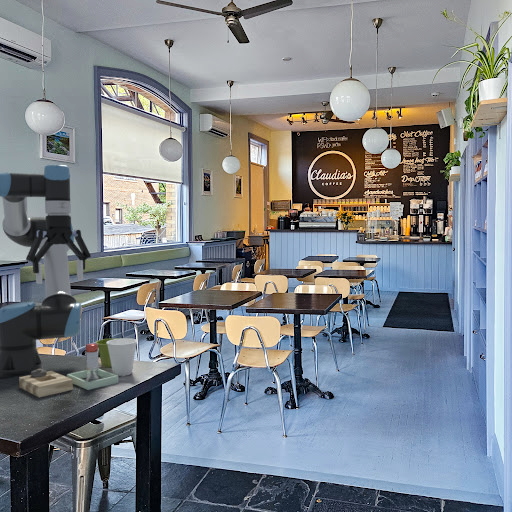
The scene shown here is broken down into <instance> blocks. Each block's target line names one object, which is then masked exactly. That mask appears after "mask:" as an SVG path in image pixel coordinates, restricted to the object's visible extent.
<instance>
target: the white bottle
mask: <svg viewBox="0 0 512 512" xmlns="http://www.w3.org/2000/svg"><path fill="white" fill-rule="evenodd" d="M85 365H86V366H85V369H86V381H87V382H91V381H95V380H99V379H100V376H99V371H98V369H99V349H98V344H96V342H94V343H87V344H85Z"/></svg>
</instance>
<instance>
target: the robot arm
mask: <svg viewBox="0 0 512 512" xmlns="http://www.w3.org/2000/svg"><path fill="white" fill-rule="evenodd" d="M43 172H44V173H20V172H19V173H16V172H14V173H13V172H1V173H0V197H1V198H2V207H3V215H4V218H3V220H2V230H3V232H4V234H5V236H7V237H8V239H9V240H10V241H12V242H14V243H15V244H17V245H20V246H23V247H25V248H29V251H28V253H27V255H26V258H25V261H28V262H31V263H32V272H33V274H35V284H38V285H43V270H44V288H45V289H44V290H45V298H44V299H42V302H41V304H40V305H36V303H35V301H23V302H22V301H21V302H16V303H12V304H8V305H4V306H2V307H1V308H0V379H1V378H2V379H8V378H9V379H10V378H15V377H18V376H19V377H21V376H26V375H31V372H32V371H34V370H36V369H42V370H44V369H43V368H44V367H43V362H42V359H41V356H40V353H39V351H38V349H37V341H38V340H40V341H41V340H50V339H51V340H52V339H67V338H72V337H76V336H78V335H79V334H80V328H81V327H80V326H81V313H82V312H81V311H82V304H81V303H80V302H77V300H76V298H75V297H74V296H73V295H72V289H71V281H70V278H71V277H70V270H69V268H70V267H69V260H68V257H69V256H68V252H69V251H70V250H71V252H73V254H74V255H75V256H76V257H77V259H76V280H78V281H84V271H85V270H86V261H87V259H89V258H91V257H92V256H91V253H90V251H89V250H88V247H87V245H86V243H85V241H84V239H83V237H82V230H80V229H74V227H73V224H72V216H71V215H70V214H71V213H72V212H71V211H72V206H71V174H70V167H69V166H68V165H64V164H47V165H45V166H44V171H43ZM28 198H45V199H44V205H45V206H44V207H45V209H44V210H45V212H44V213H45V214H46V216H45V217H44V216H39V217H38V216H28ZM75 241H76V243H77V245H78V246H77V245H76V244H75ZM78 247H79V248H78ZM42 258H43V262H40V261H41V260H42ZM42 263H43V264H42ZM42 265H43V266H42Z"/></svg>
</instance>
